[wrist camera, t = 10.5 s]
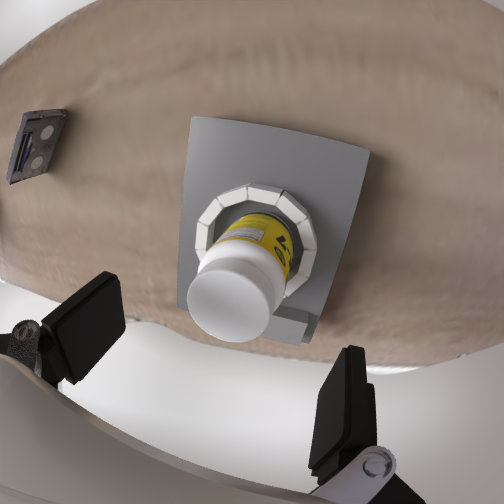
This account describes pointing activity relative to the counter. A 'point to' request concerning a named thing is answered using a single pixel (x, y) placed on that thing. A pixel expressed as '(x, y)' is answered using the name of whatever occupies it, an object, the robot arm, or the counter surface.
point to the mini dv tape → (35, 143)
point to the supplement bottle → (242, 278)
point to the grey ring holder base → (271, 206)
